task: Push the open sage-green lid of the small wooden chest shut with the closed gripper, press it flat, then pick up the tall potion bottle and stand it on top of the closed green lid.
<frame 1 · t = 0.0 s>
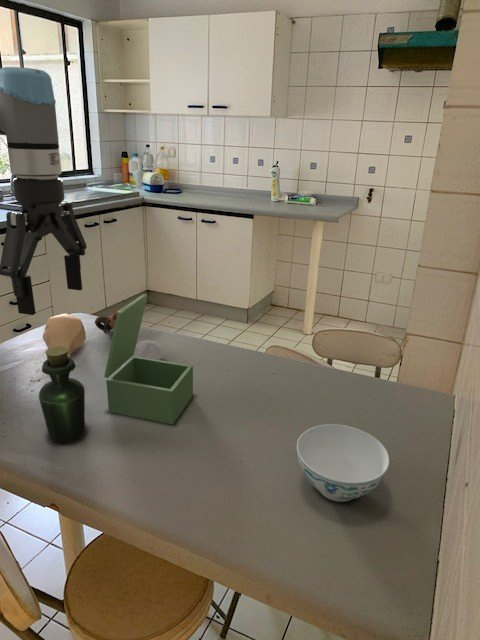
hand: (52, 300, 83), 27 cm above the table, tool pointing down, fingers open, 13 cm apart
potion bottle: (67, 434, 90), on the table
squash: (65, 354, 122), on the table
chest: (152, 403, 101), on the table
chinaware: (336, 488, 79), on the table
stone block: (139, 364, 118), on the table
brown curved loop piece: (117, 335, 134), on the table
chest lid: (126, 335, 97), point 16 cm above the table, hinge at 75.0°
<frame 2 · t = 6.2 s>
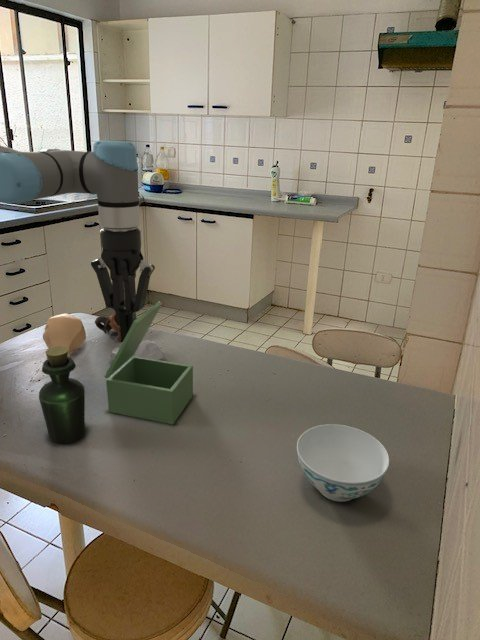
hand: (127, 340, 97), 15 cm above the table, tool pointing down, fingers closed
chest lid: (134, 339, 97), point 15 cm above the table, hinge at 61.1°, touching gripper
everything else where it was.
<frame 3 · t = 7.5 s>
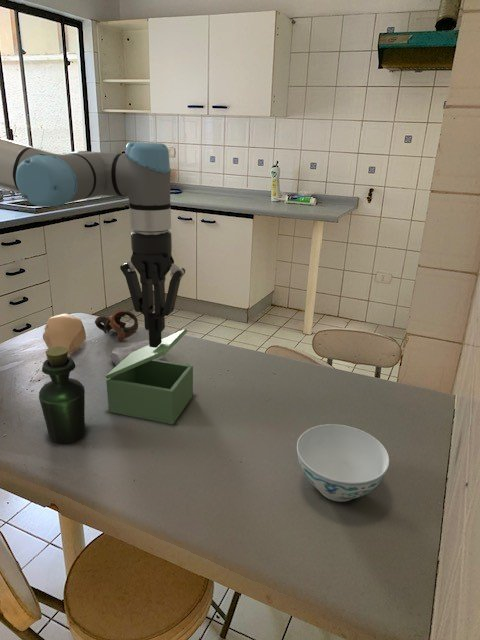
hand: (155, 344, 96), 15 cm above the table, tool pointing down, fingers closed
chest lid: (147, 353, 97), point 12 cm above the table, hinge at 30.9°
everything else where it was.
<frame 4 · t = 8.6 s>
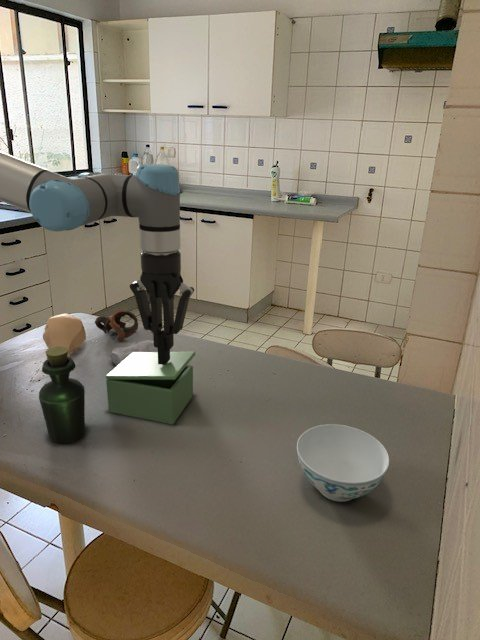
hand: (164, 361, 97), 11 cm above the table, tool pointing down, fingers closed
chest lid: (151, 365, 98), point 10 cm above the table, hinge at 10.2°
everything else where it was.
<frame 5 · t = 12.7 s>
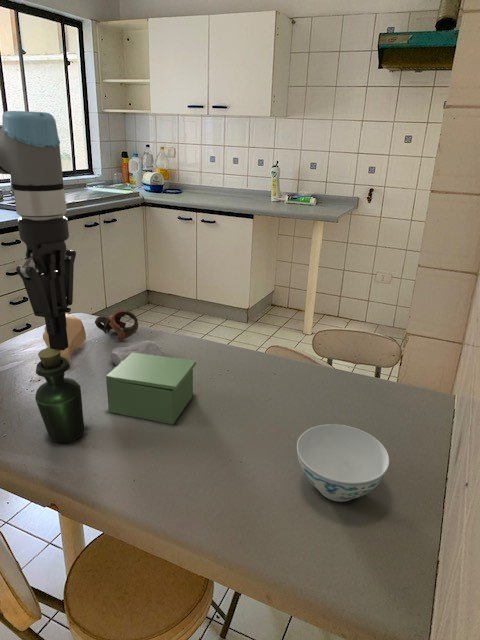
hand: (59, 347, 84), 19 cm above the table, tool pointing down, fingers closed
potion bottle: (67, 433, 90), on the table, touching gripper
chest lid: (152, 369, 98), point 8 cm above the table, hinge at 1.7°
everything else where it was.
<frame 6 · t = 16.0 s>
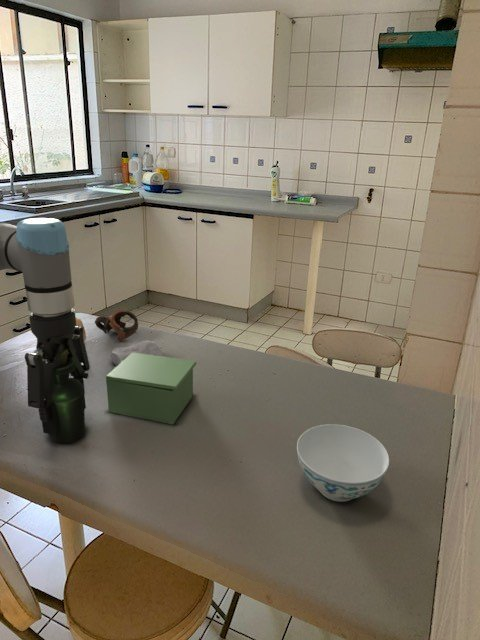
hand: (65, 419, 89), 3 cm above the table, tool pointing down, fingers closed on potion bottle, 8 cm apart
potion bottle: (67, 434, 90), on the table, touching gripper
everything else where it was.
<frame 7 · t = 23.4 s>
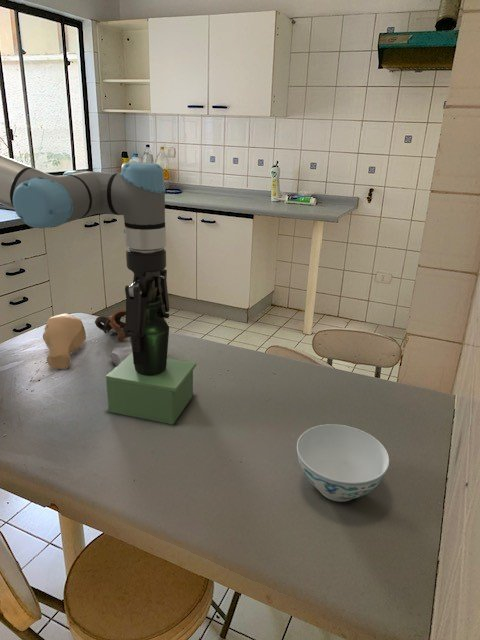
hand: (150, 354, 97), 12 cm above the table, tool pointing down, fingers closed on potion bottle, 8 cm apart
potion bottle: (150, 369, 98), point 8 cm above the table, touching chest lid, gripper
chest lid: (152, 370, 98), point 8 cm above the table, hinge at 0.1°, touching potion bottle
everything else where it was.
when the fingers open (12 cm above the table, at t = 23.6 s): potion bottle stays where it is, resting on chest lid.
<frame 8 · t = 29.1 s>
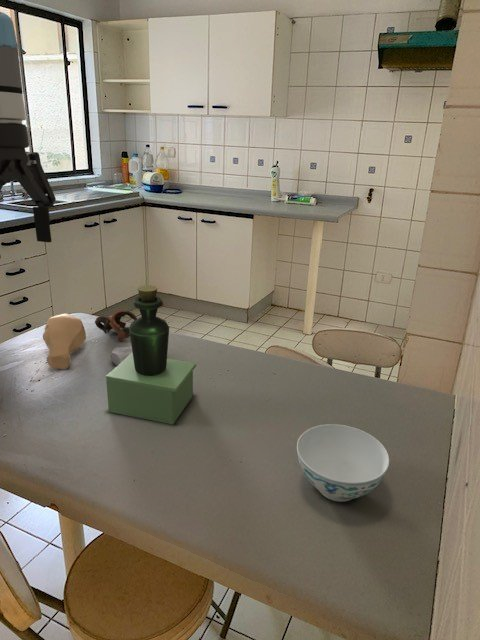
hand: (20, 249, 84), 35 cm above the table, tool pointing down, fingers open, 13 cm apart
potion bottle: (150, 369, 98), point 8 cm above the table, touching chest lid
chest lid: (152, 370, 98), point 8 cm above the table, hinge at -0.2°, touching chest, potion bottle
everything else where it was.
at the end: chest lid at +0° (first picture: +75°); potion bottle inside the target area on the chest (0.0 cm from its centre), point 8.4 cm above the chest's base; potion bottle tilted 0° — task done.
